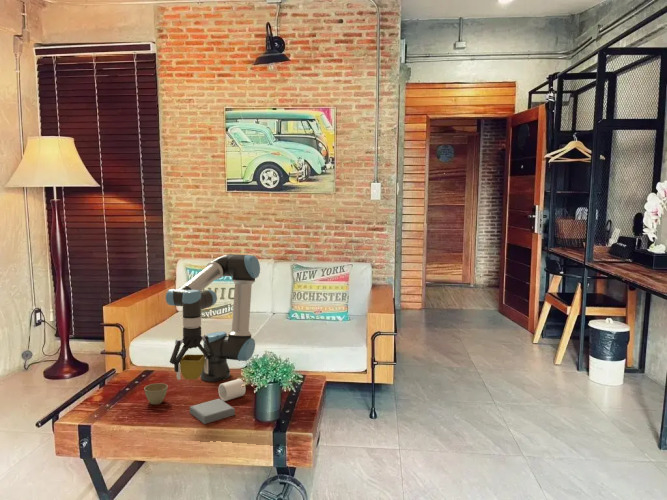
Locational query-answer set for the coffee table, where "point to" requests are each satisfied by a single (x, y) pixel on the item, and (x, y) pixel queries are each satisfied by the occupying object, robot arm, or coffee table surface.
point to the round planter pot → (156, 392)
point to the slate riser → (212, 411)
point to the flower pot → (192, 366)
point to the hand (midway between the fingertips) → (192, 375)
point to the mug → (231, 389)
